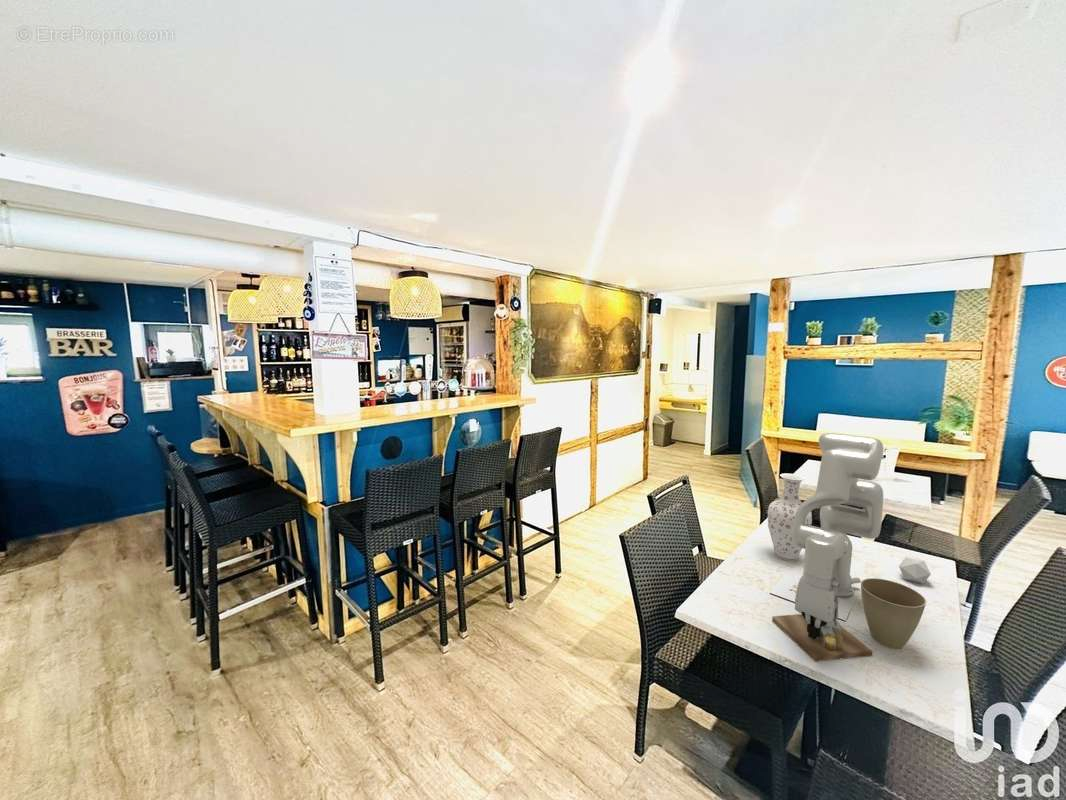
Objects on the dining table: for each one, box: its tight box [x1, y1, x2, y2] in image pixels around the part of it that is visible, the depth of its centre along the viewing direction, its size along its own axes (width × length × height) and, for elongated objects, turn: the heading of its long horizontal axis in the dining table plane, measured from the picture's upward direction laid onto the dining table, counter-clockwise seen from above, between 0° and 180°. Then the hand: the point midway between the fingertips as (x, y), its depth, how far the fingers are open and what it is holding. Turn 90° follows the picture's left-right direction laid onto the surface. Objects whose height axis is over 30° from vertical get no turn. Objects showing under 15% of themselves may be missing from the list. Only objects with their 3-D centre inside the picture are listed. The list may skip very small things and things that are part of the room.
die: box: [898, 556, 931, 584], centre depth 161 cm, size 8×9×10 cm
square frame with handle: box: [814, 617, 842, 651], centre depth 128 cm, size 15×8×4 cm, turn 156°
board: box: [771, 613, 874, 662], centre depth 129 cm, size 18×18×8 cm
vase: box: [767, 472, 813, 562], centre depth 178 cm, size 16×16×35 cm
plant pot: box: [860, 577, 927, 650], centre depth 127 cm, size 15×15×16 cm
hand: (813, 636), depth 126 cm, fingers closed
